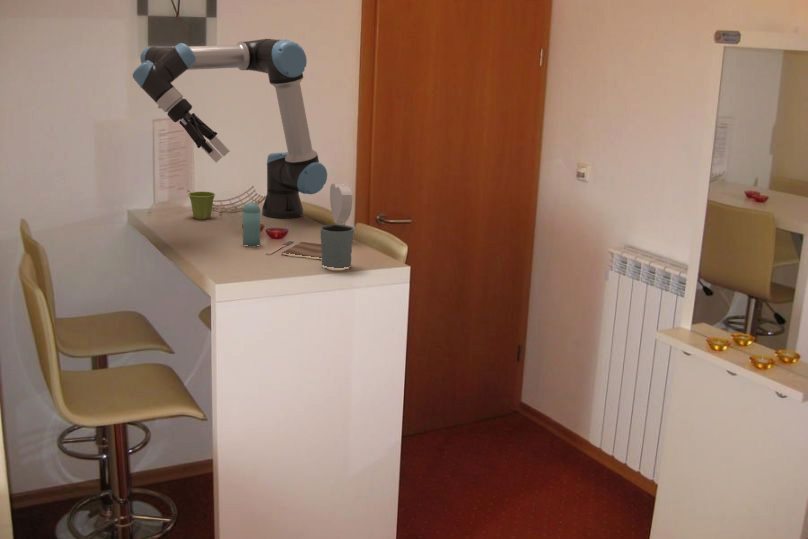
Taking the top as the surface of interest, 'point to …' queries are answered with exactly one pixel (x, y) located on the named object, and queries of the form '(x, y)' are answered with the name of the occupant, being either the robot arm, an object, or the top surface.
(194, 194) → the plant pot
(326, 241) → the grey textured cup
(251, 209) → the teal domed cylinder
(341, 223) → the heart sculpture
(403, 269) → the top surface
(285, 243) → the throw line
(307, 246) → the board
